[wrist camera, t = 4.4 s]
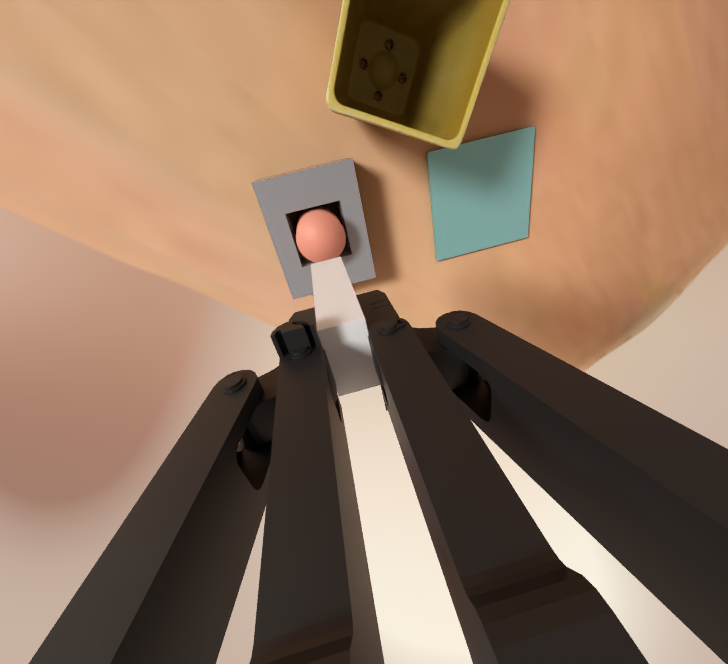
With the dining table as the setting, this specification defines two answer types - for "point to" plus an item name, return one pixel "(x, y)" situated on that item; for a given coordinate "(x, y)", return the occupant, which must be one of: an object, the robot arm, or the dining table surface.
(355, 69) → the flower pot
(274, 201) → the housing
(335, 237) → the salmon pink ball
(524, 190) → the pad
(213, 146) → the dining table surface
